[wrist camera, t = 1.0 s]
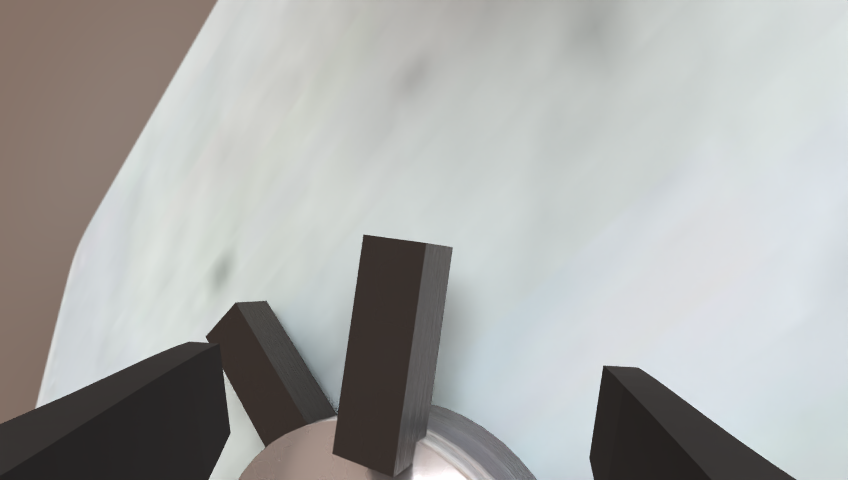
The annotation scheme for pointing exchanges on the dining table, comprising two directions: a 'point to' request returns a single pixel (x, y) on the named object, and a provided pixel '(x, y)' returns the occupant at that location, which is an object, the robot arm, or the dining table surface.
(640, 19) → the dining table surface
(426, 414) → the pressure cooker lid
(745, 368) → the dining table surface
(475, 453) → the pot
